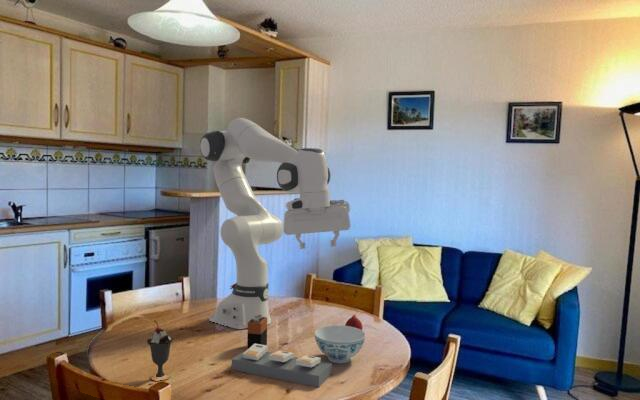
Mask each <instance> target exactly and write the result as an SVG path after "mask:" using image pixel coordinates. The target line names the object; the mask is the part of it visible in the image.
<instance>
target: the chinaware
mask: <svg viewBox="0 0 640 400" xmlns="http://www.w3.org/2000/svg"><path fill="white" fill-rule="evenodd" d="M314 338H315V342H316V345H317V347H318V349H319V351H321V353H322V354H323V355H325V356H326V357H327V359H328V361H329V362H330V363H335V364H346V363H348V362H350V361H351V360H352V358H353V357H355V356H356V355H357V354H358V353H359V352H360V350H361V349H362V347H363V345H364V344H365V339H366V333H365V331H364V330H363V329H362V330H360V329H358V328H355V327H350V326H345V325H339V324H338V325H326V326H322V327H319V328H317V329H316V330H315V331H314Z"/></svg>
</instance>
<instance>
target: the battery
mask: <svg viewBox="0 0 640 400" xmlns="http://www.w3.org/2000/svg"><path fill="white" fill-rule="evenodd" d="M246 338H247V342H246V343H247V347H246V350H247V349H249V348H250V347H251V346H252V345H253V344H261V345H267V346H268V325H267V317H262V315H257V316H255V317H254V318H252V319H251V320H250V321H249V322H248V328H247V337H246Z"/></svg>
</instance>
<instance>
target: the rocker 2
mask: <svg viewBox="0 0 640 400" xmlns="http://www.w3.org/2000/svg"><path fill="white" fill-rule="evenodd" d="M272 353H273V354H270V355H269V360H274V361H280V362H285V361H287V362H288V361H289V359H292V358H294V357H295V353H294V352H289V351H285V350H278V351H276V352H272Z"/></svg>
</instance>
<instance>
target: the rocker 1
mask: <svg viewBox="0 0 640 400" xmlns="http://www.w3.org/2000/svg"><path fill="white" fill-rule="evenodd" d="M246 350H247V349H246ZM246 350H245V351H246ZM243 352H244V351H243ZM266 352H269V345H268V344H267V345H261V344H253V345H252V346H251V347H250V348H249V349H248V350H247V351H246V352H244V353H243V358H247V359H252V360H258V359H259V358H260V357H262V356H263V354H265V353H266Z"/></svg>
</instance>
